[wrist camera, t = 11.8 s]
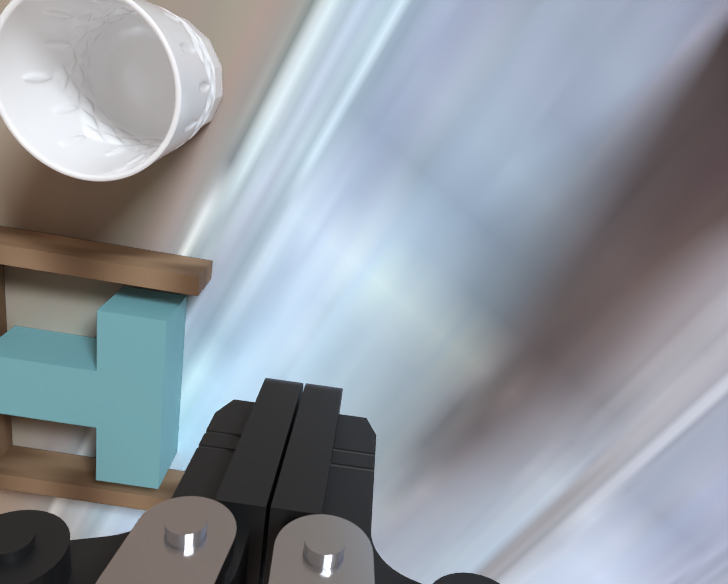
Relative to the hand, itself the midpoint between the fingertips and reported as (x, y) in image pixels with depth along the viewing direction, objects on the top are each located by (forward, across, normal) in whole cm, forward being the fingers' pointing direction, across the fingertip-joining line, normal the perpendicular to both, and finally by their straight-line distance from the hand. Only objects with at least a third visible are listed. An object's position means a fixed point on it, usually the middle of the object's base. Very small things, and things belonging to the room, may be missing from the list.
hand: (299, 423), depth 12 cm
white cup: (+26, +12, -4) cm, 29 cm away
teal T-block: (+26, +16, +15) cm, 33 cm away
